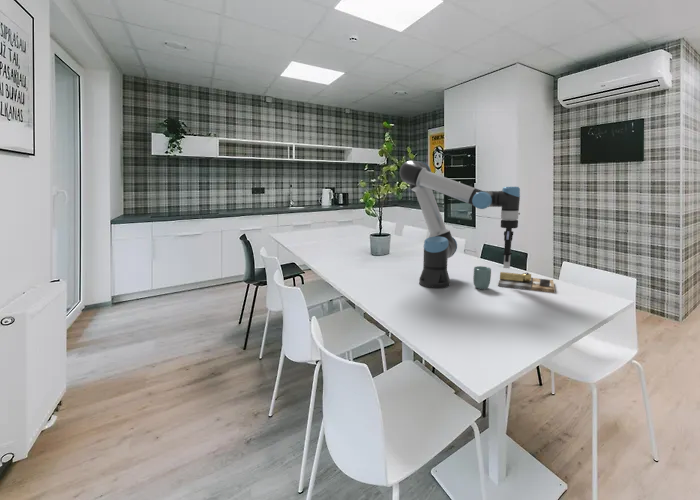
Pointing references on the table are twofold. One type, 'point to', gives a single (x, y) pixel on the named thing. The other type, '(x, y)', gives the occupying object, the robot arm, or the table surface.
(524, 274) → the latch arm
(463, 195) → the robot arm
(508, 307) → the table surface
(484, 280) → the cup
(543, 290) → the door board
